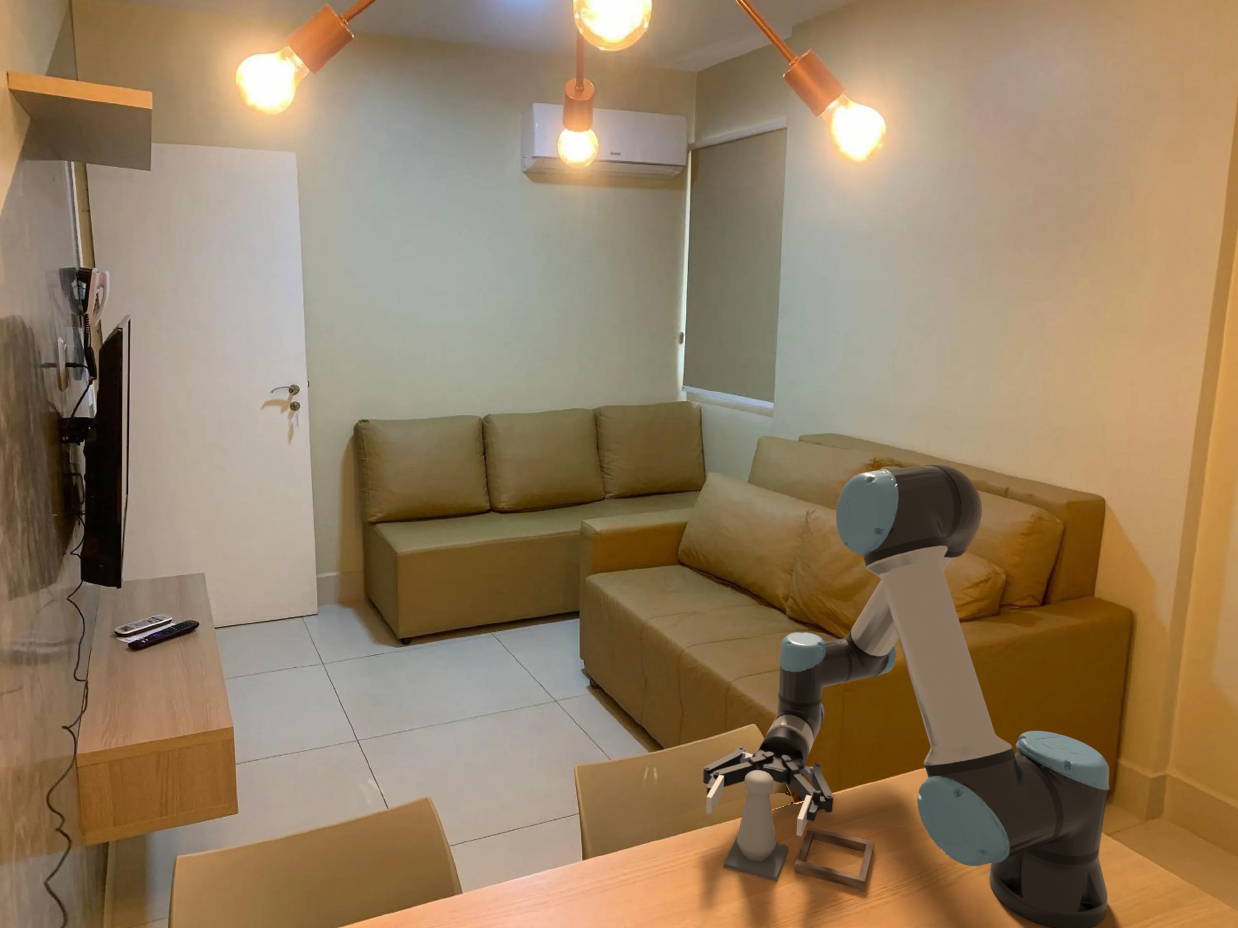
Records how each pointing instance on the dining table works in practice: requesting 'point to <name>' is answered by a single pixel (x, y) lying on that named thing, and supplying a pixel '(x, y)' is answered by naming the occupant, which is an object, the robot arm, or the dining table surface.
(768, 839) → the salt shaker
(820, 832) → the walnut collar
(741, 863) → the charcoal coaster
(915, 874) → the dining table surface
